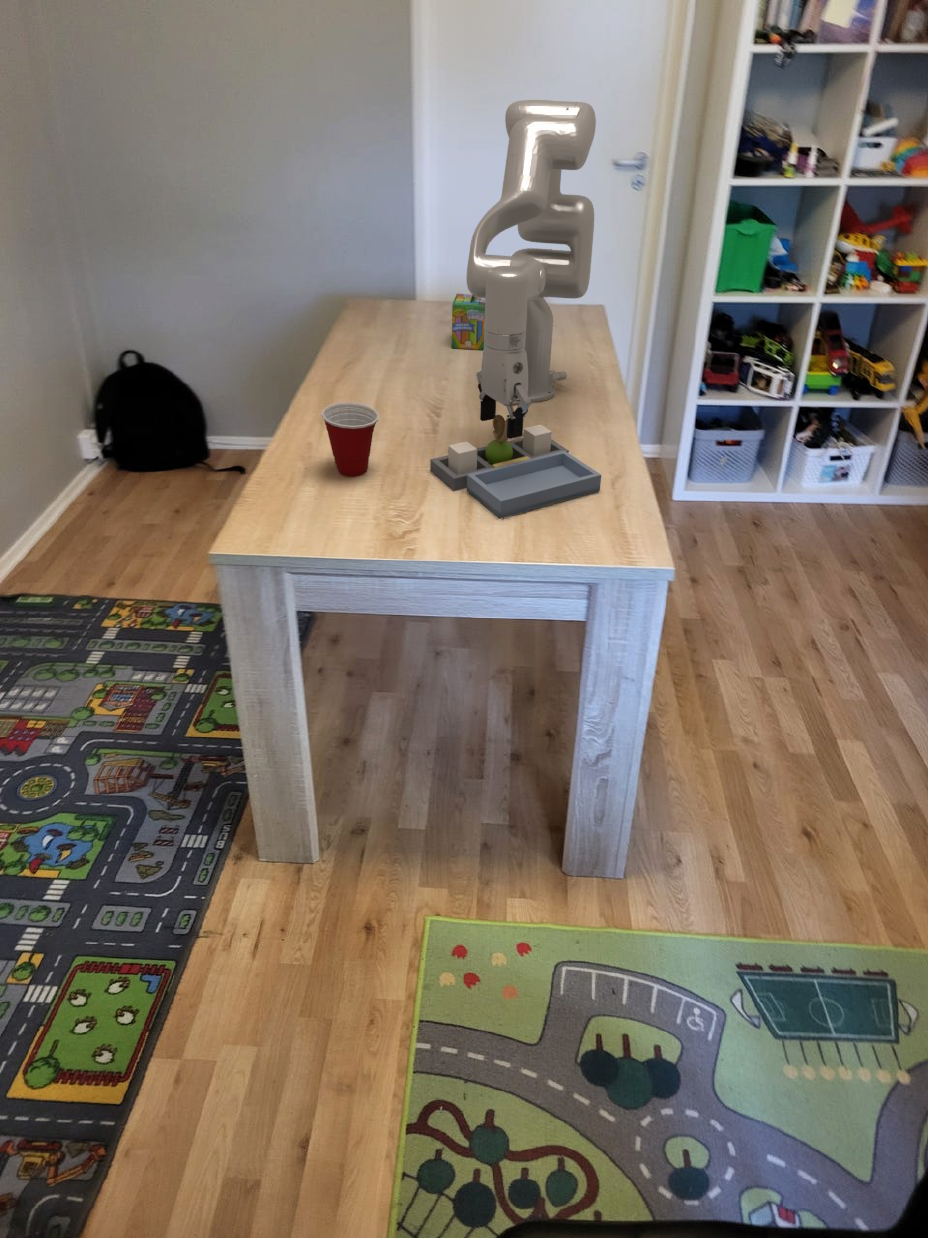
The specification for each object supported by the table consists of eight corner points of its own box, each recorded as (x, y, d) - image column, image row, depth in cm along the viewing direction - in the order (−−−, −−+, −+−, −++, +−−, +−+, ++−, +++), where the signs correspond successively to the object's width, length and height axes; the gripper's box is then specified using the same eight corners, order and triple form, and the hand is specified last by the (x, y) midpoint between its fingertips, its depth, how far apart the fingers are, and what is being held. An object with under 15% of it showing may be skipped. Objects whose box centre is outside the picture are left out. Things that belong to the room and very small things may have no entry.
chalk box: (455, 337, 246) (455, 279, 238) (489, 339, 245) (491, 281, 237) (450, 349, 239) (450, 290, 230) (486, 351, 238) (487, 292, 229)
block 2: (538, 452, 189) (540, 424, 186) (549, 459, 186) (551, 431, 183) (522, 456, 187) (523, 428, 184) (532, 463, 185) (534, 435, 181)
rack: (541, 444, 192) (542, 431, 190) (567, 462, 185) (568, 449, 184) (430, 470, 181) (430, 457, 180) (454, 490, 175) (454, 477, 173)
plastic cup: (373, 485, 176) (370, 426, 169) (318, 480, 177) (313, 420, 170) (387, 461, 185) (385, 403, 178) (335, 455, 186) (331, 398, 179)
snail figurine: (495, 475, 180) (497, 417, 173) (480, 462, 185) (481, 405, 178) (519, 470, 182) (523, 412, 175) (503, 457, 187) (506, 400, 180)
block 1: (466, 469, 182) (466, 441, 179) (476, 477, 179) (477, 449, 176) (448, 474, 180) (448, 445, 177) (458, 482, 178) (458, 453, 174)
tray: (563, 466, 184) (564, 450, 182) (599, 491, 175) (601, 474, 173) (466, 491, 174) (466, 474, 172) (500, 518, 166) (500, 501, 164)
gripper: (548, 349, 164) (542, 440, 173) (497, 323, 176) (494, 409, 186) (512, 355, 161) (508, 448, 170) (463, 328, 173) (461, 416, 183)
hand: (500, 428), depth 178 cm, fingers open, 9 cm apart
